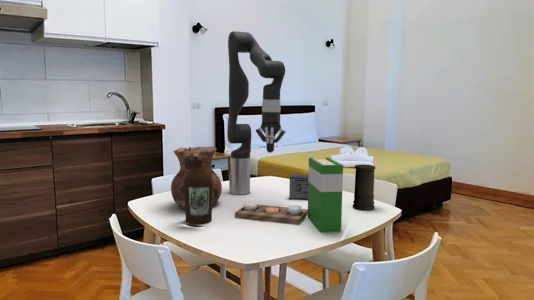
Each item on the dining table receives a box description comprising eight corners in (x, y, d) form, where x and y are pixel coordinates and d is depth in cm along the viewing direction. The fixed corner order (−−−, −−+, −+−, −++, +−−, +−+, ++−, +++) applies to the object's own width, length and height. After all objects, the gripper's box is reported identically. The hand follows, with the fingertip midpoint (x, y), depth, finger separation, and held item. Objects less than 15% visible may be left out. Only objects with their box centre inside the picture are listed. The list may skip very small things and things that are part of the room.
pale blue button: (286, 214, 156) (286, 208, 156) (290, 211, 161) (290, 205, 161) (299, 216, 155) (299, 209, 154) (302, 212, 159) (303, 206, 159)
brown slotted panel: (234, 220, 158) (234, 212, 158) (248, 210, 172) (248, 203, 171) (299, 227, 150) (299, 219, 150) (308, 216, 164) (308, 209, 163)
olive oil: (183, 219, 158) (182, 154, 155) (211, 218, 161) (211, 153, 157) (184, 228, 148) (183, 158, 145) (214, 226, 151) (214, 157, 147)
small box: (312, 196, 196) (312, 174, 194) (312, 200, 189) (312, 177, 188) (289, 196, 197) (290, 174, 195) (289, 199, 190) (289, 176, 189)
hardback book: (307, 219, 160) (308, 157, 157) (326, 219, 161) (328, 157, 158) (319, 235, 142) (321, 165, 139) (340, 234, 143) (343, 165, 140)
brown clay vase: (165, 202, 183) (164, 146, 180) (211, 197, 192) (210, 143, 189) (179, 216, 163) (178, 152, 160) (229, 209, 173) (229, 149, 170)
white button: (241, 210, 162) (241, 203, 162) (246, 207, 167) (246, 200, 166) (253, 211, 160) (253, 205, 160) (258, 208, 165) (258, 202, 165)
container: (376, 206, 179) (378, 165, 177) (372, 211, 171) (373, 168, 169) (355, 204, 183) (356, 163, 181) (350, 209, 175) (351, 166, 173)
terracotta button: (263, 216, 159) (263, 210, 159) (267, 213, 164) (268, 206, 164) (276, 217, 158) (276, 211, 157) (280, 214, 162) (280, 208, 162)
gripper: (252, 110, 170) (252, 152, 173) (283, 111, 166) (282, 155, 169) (259, 109, 177) (258, 149, 180) (289, 110, 173) (288, 152, 176)
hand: (270, 152), depth 174 cm, fingers closed
